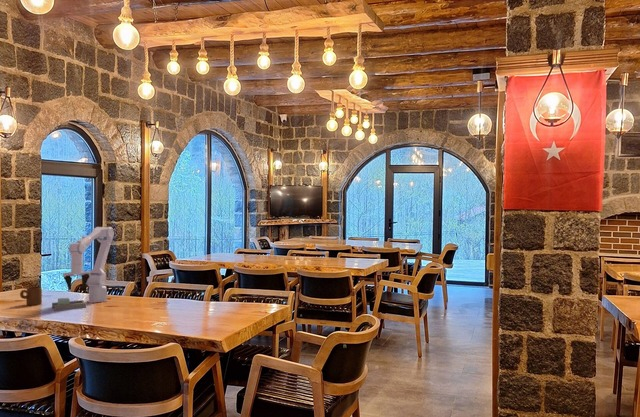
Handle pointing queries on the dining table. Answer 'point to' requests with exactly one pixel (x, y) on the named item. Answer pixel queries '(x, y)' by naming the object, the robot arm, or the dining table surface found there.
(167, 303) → the dining table surface
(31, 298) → the mug
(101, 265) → the robot arm
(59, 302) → the block
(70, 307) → the chute
